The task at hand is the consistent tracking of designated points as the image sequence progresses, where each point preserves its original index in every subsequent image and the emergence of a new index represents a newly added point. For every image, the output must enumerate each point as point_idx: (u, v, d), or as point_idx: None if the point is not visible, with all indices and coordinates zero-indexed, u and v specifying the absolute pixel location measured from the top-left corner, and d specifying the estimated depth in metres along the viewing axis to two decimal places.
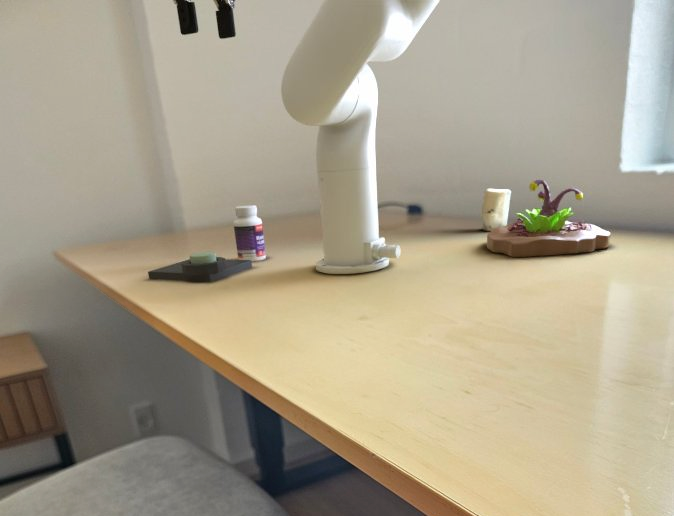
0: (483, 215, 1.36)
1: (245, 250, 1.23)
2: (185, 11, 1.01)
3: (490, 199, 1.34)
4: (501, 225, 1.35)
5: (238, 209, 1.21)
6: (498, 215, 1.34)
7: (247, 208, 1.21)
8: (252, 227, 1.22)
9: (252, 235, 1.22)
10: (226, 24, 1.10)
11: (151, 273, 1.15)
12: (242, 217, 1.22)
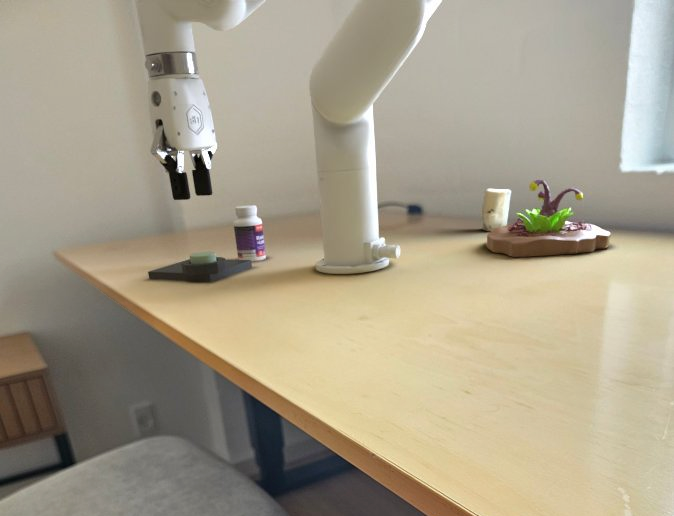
0: (483, 215, 1.36)
1: (245, 250, 1.23)
2: (177, 181, 1.03)
3: (490, 199, 1.34)
4: (501, 225, 1.35)
5: (238, 209, 1.21)
6: (498, 215, 1.34)
7: (247, 208, 1.21)
8: (252, 227, 1.22)
9: (252, 235, 1.22)
10: (202, 183, 1.08)
11: (151, 273, 1.15)
12: (242, 217, 1.22)
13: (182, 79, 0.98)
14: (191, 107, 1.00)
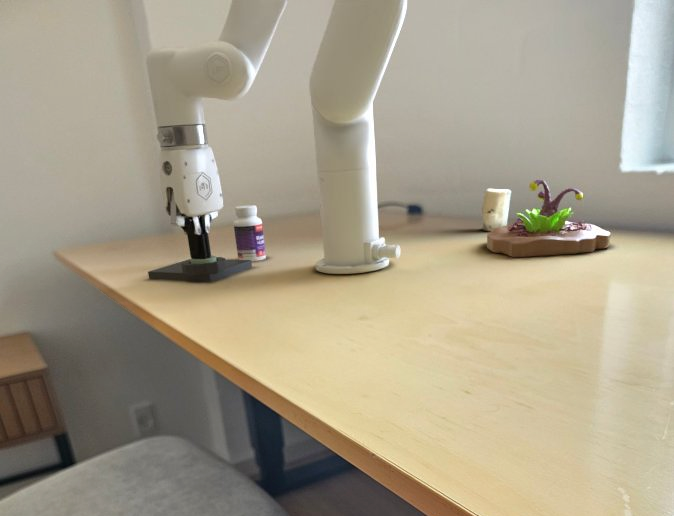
0: (483, 215, 1.36)
1: (245, 250, 1.23)
2: (195, 242, 1.09)
3: (490, 199, 1.34)
4: (501, 225, 1.35)
5: (238, 209, 1.21)
6: (498, 215, 1.34)
7: (247, 208, 1.21)
8: (252, 227, 1.22)
9: (252, 235, 1.22)
10: None
11: (151, 273, 1.15)
12: (242, 217, 1.22)
13: (192, 149, 1.02)
14: (200, 175, 1.04)
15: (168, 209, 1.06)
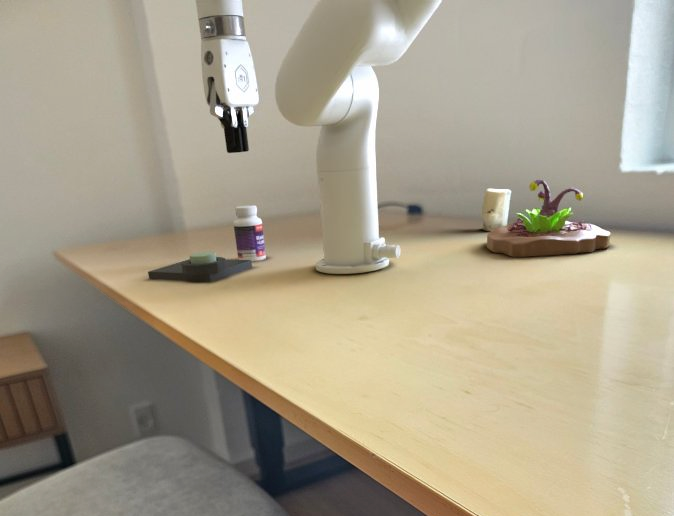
0: (483, 215, 1.36)
1: (245, 250, 1.23)
2: (232, 135, 1.15)
3: (490, 199, 1.34)
4: (501, 225, 1.35)
5: (238, 209, 1.21)
6: (498, 215, 1.34)
7: (247, 208, 1.21)
8: (252, 227, 1.22)
9: (252, 235, 1.22)
10: None
11: (151, 273, 1.15)
12: (242, 217, 1.22)
13: (232, 40, 1.09)
14: (239, 66, 1.11)
15: (208, 100, 1.12)
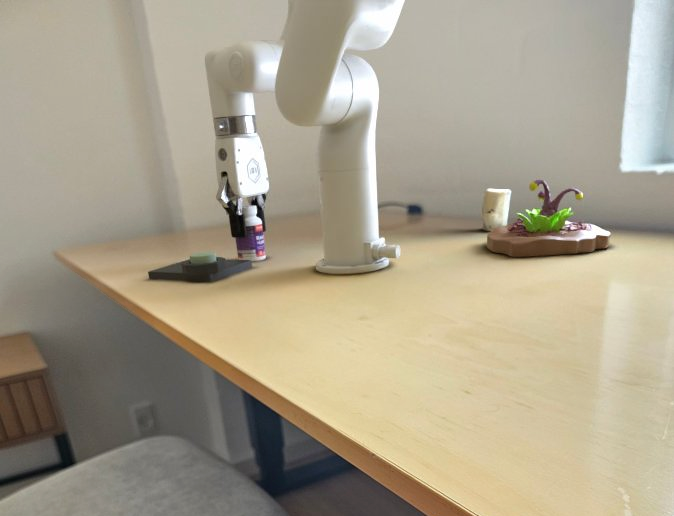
0: (483, 215, 1.36)
1: (245, 250, 1.23)
2: (236, 222, 1.20)
3: (490, 199, 1.34)
4: (501, 225, 1.35)
5: None
6: (498, 215, 1.34)
7: (247, 208, 1.21)
8: (252, 227, 1.22)
9: (252, 235, 1.22)
10: None
11: (151, 273, 1.15)
12: None
13: (244, 137, 1.15)
14: (251, 160, 1.17)
15: None
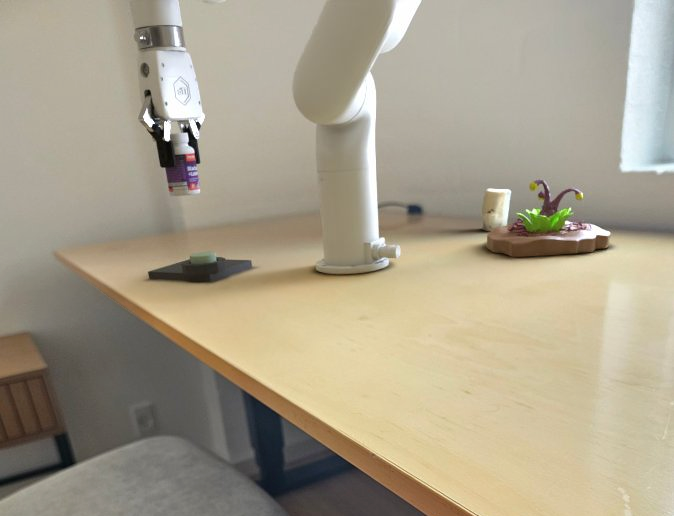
0: (483, 215, 1.36)
1: (176, 182, 1.12)
2: (164, 149, 1.08)
3: (490, 199, 1.34)
4: (501, 225, 1.35)
5: None
6: (498, 215, 1.34)
7: (176, 134, 1.09)
8: (182, 156, 1.10)
9: (182, 165, 1.11)
10: None
11: (151, 273, 1.15)
12: None
13: (169, 52, 1.04)
14: (178, 79, 1.06)
15: None
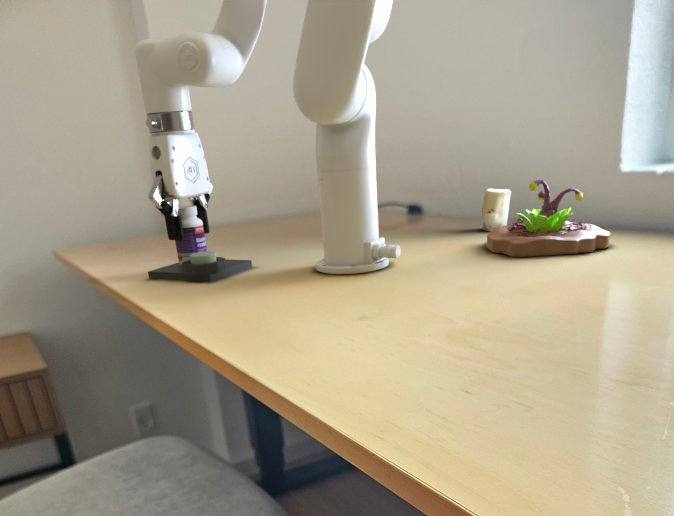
0: (483, 215, 1.36)
1: (185, 253, 1.17)
2: (172, 223, 1.13)
3: (490, 199, 1.34)
4: (501, 225, 1.35)
5: None
6: (498, 215, 1.34)
7: (185, 209, 1.14)
8: (192, 228, 1.15)
9: (191, 237, 1.16)
10: None
11: (151, 273, 1.15)
12: None
13: (179, 135, 1.09)
14: (188, 159, 1.11)
15: None
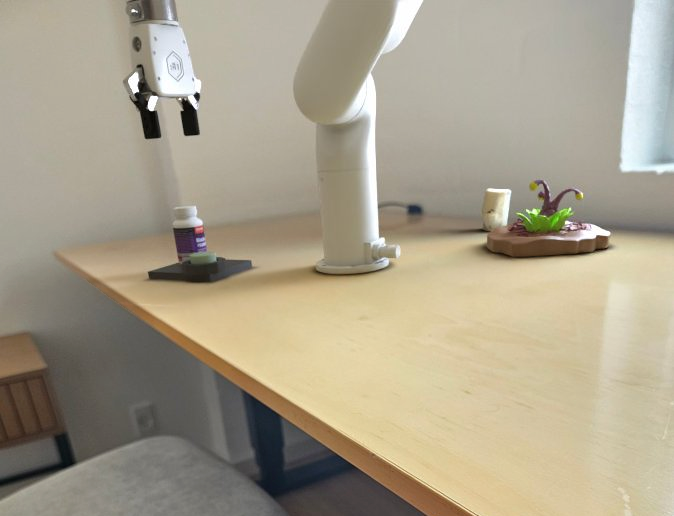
0: (483, 215, 1.36)
1: (185, 253, 1.17)
2: (148, 119, 1.05)
3: (490, 199, 1.34)
4: (501, 225, 1.35)
5: (176, 210, 1.14)
6: (498, 215, 1.34)
7: (185, 209, 1.14)
8: (192, 228, 1.15)
9: (191, 237, 1.16)
10: (190, 124, 1.13)
11: (151, 273, 1.15)
12: (180, 218, 1.15)
13: (162, 25, 1.02)
14: (171, 53, 1.04)
15: (139, 90, 1.05)
